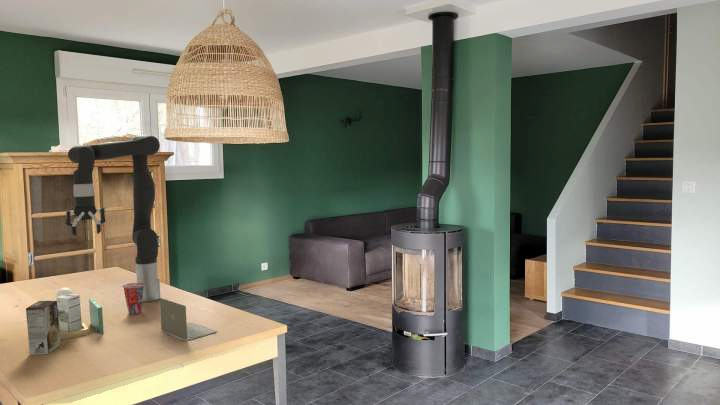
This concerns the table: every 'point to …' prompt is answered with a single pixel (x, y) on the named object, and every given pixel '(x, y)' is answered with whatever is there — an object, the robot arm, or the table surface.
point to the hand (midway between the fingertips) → (86, 234)
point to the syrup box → (69, 313)
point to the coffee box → (43, 327)
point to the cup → (134, 297)
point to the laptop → (179, 322)
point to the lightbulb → (63, 292)
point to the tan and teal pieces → (95, 320)
